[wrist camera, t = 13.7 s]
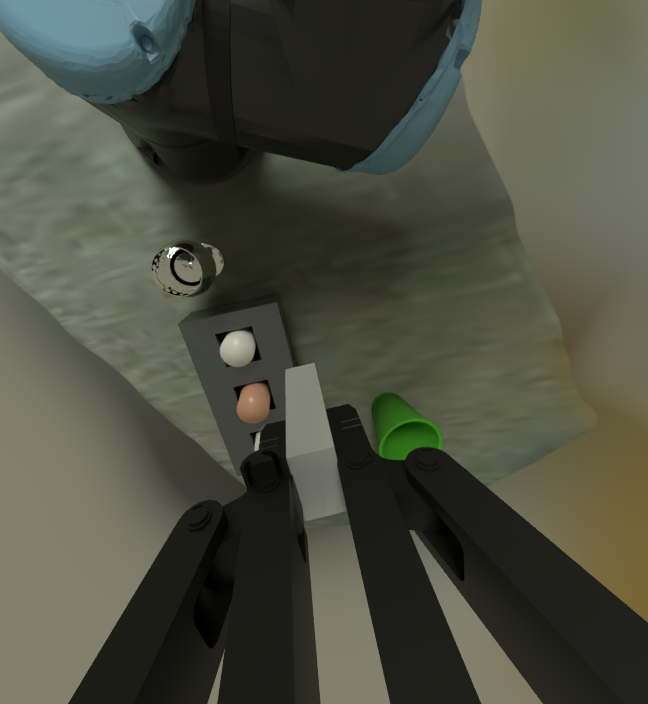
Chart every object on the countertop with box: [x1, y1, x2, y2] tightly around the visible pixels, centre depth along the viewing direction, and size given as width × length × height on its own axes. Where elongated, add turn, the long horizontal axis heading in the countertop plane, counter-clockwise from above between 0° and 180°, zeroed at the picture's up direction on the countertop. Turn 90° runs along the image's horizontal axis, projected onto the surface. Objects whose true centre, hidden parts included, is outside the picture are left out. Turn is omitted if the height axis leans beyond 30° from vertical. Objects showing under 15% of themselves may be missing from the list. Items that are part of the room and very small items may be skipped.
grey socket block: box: [178, 293, 296, 476], centre depth 44 cm, size 24×12×6 cm, turn 11°
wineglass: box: [151, 239, 224, 297], centre depth 35 cm, size 6×6×12 cm
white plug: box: [220, 326, 257, 367], centre depth 41 cm, size 4×4×7 cm
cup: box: [372, 393, 443, 460], centre depth 47 cm, size 9×9×11 cm
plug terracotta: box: [237, 379, 271, 424], centre depth 42 cm, size 4×4×7 cm
